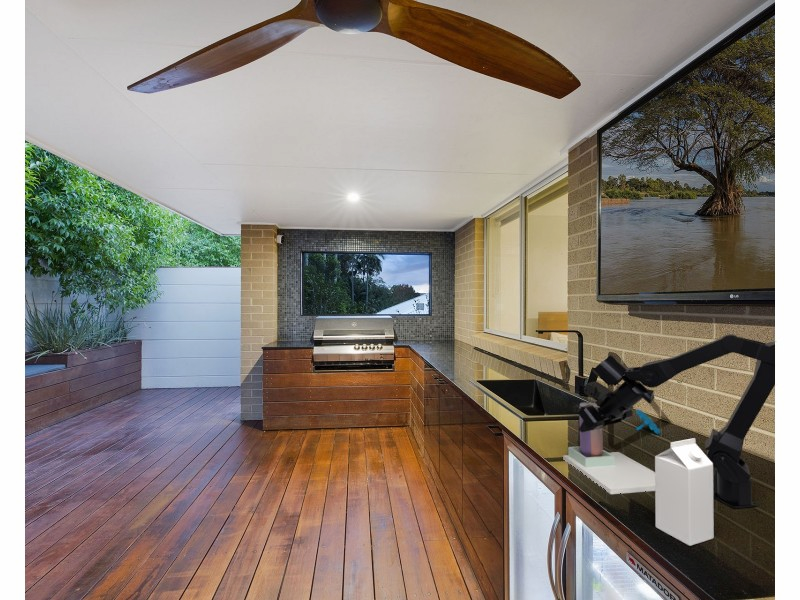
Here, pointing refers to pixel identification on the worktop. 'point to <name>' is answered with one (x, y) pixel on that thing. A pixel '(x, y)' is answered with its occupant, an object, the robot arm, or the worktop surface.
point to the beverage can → (591, 438)
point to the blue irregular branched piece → (647, 422)
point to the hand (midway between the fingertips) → (586, 428)
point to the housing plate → (613, 471)
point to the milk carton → (684, 492)
